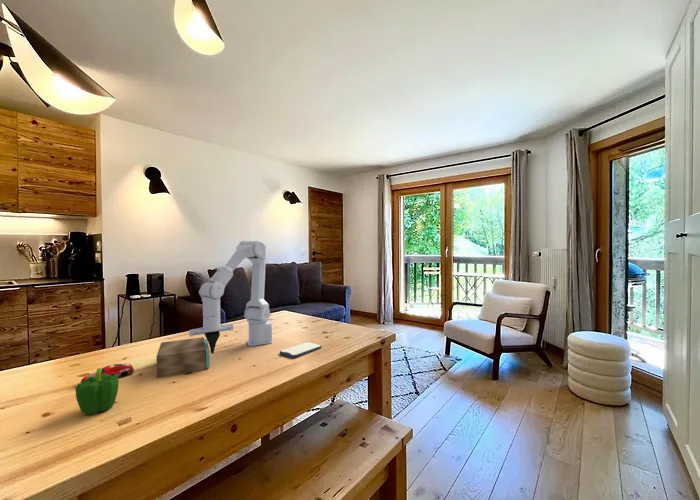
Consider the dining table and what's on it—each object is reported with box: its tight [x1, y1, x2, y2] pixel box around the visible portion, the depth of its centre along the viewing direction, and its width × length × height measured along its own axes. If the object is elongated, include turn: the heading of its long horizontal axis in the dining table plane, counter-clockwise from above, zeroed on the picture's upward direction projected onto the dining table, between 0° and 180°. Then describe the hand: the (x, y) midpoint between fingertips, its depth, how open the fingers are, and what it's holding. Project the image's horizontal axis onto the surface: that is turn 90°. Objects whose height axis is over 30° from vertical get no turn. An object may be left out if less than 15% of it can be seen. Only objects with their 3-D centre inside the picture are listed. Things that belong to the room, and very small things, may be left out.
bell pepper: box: [75, 367, 120, 416], centre depth 78 cm, size 8×8×10 cm
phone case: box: [279, 341, 322, 360], centre depth 123 cm, size 9×2×16 cm
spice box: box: [155, 336, 206, 378], centre depth 108 cm, size 14×16×7 cm
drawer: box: [204, 338, 210, 369], centre depth 109 cm, size 14×16×6 cm
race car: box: [80, 363, 134, 383], centre depth 97 cm, size 13×5×4 cm, turn 142°
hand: (212, 352), depth 112 cm, fingers closed
